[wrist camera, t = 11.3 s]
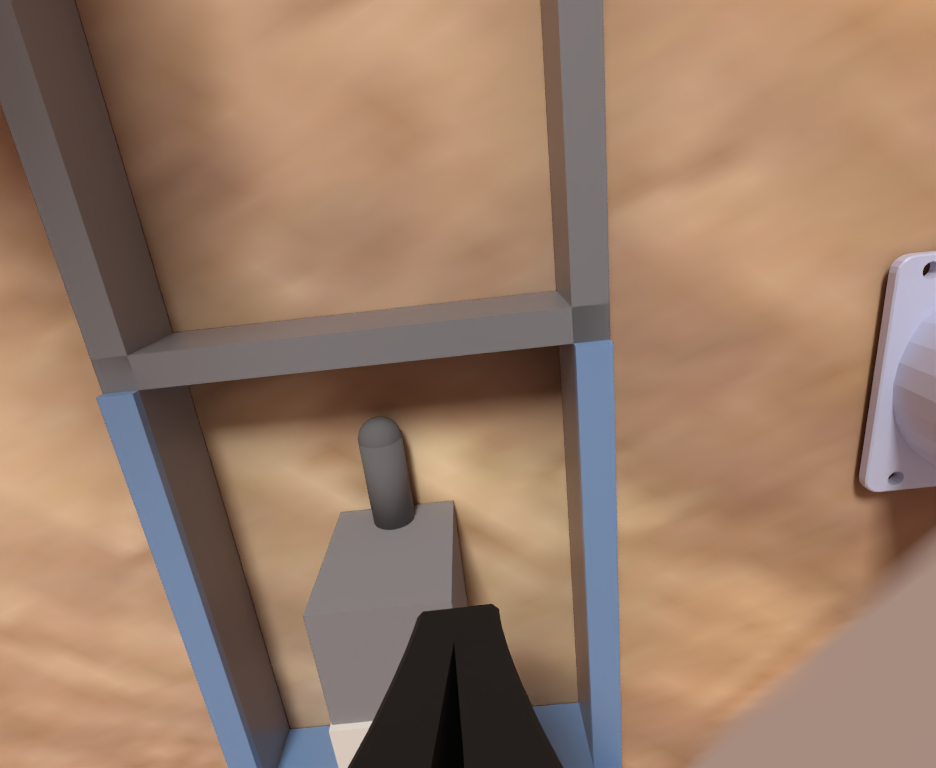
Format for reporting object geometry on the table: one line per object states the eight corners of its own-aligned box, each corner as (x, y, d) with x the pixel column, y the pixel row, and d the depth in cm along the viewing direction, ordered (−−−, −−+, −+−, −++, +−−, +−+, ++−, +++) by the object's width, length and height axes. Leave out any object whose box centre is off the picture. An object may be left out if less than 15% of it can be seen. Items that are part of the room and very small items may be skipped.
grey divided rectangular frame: (562, -471, 12) (633, -923, 7) (603, 718, 23) (640, 854, 18) (-85, -380, 12) (-441, -750, 7) (271, 748, 23) (223, 891, 19)
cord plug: (441, 402, 18) (434, 483, 13) (475, 654, 22) (480, 789, 17) (318, 416, 18) (266, 501, 13) (372, 664, 22) (347, 802, 17)
